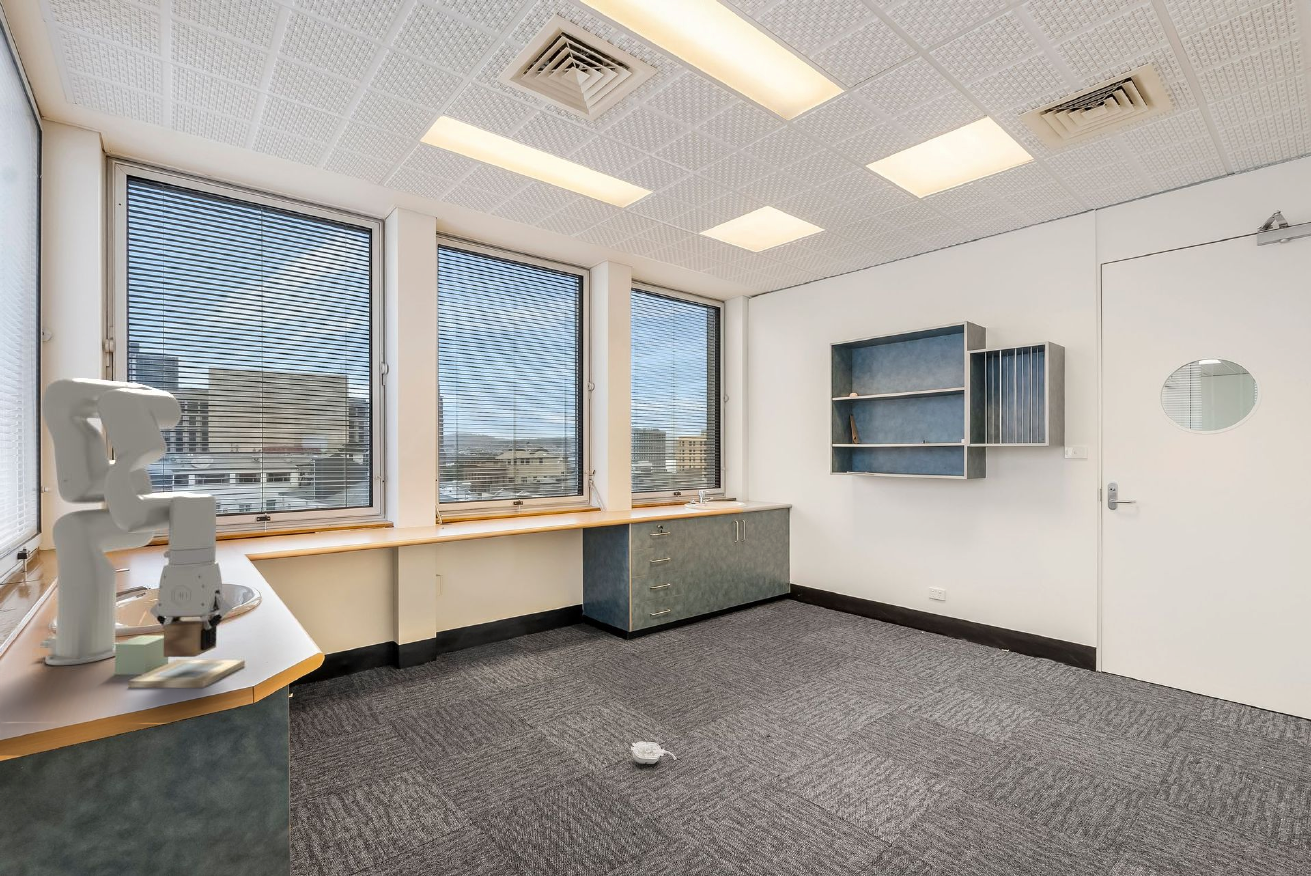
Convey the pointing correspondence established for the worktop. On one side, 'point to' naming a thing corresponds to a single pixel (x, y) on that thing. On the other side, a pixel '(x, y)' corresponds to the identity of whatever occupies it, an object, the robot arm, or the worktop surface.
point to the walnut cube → (184, 638)
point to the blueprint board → (187, 674)
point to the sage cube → (140, 655)
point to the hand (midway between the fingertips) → (190, 647)
